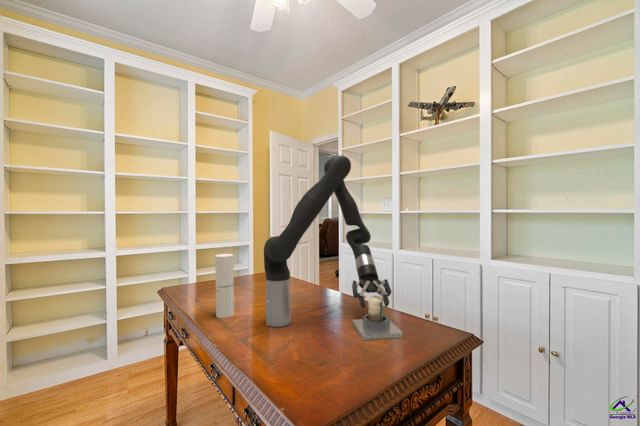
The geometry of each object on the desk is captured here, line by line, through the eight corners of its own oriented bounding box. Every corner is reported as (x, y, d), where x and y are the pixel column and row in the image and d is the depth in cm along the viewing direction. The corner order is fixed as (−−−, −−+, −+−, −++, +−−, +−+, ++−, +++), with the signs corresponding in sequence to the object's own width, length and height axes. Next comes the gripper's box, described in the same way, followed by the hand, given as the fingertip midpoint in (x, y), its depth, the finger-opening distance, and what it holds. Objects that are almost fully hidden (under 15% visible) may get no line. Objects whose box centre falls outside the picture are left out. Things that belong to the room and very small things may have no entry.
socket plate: (363, 340, 98) (363, 327, 97) (352, 323, 111) (352, 312, 111) (402, 337, 100) (402, 324, 100) (387, 321, 113) (387, 309, 113)
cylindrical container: (228, 318, 118) (227, 256, 117) (212, 317, 119) (211, 256, 118) (237, 312, 125) (236, 254, 124) (221, 311, 126) (221, 253, 125)
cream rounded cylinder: (376, 329, 102) (376, 301, 102) (365, 325, 106) (365, 297, 106) (386, 326, 105) (386, 298, 105) (375, 321, 110) (375, 295, 109)
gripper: (350, 263, 113) (358, 302, 102) (385, 262, 115) (397, 300, 104) (347, 274, 118) (354, 312, 107) (380, 273, 120) (391, 310, 109)
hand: (375, 306), depth 105 cm, fingers open, 8 cm apart
